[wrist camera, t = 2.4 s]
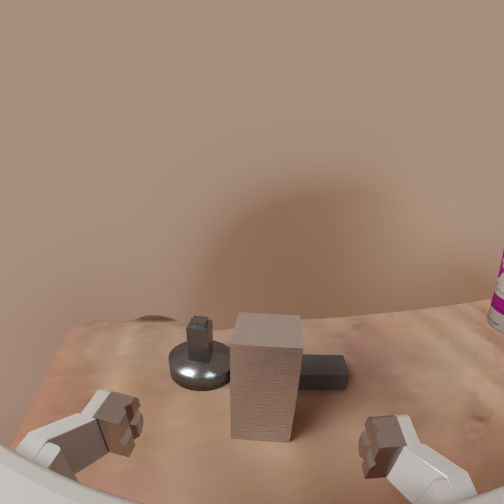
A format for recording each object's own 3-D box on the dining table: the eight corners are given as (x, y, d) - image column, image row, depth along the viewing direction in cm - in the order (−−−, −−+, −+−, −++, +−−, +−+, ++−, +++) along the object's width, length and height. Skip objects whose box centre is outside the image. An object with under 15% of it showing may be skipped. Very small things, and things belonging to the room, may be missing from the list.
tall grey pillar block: (289, 404, 29) (299, 315, 26) (289, 441, 24) (303, 348, 21) (237, 401, 29) (238, 312, 26) (230, 438, 24) (229, 343, 21)
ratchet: (162, 385, 31) (155, 332, 29) (180, 350, 37) (176, 302, 35) (347, 398, 29) (360, 346, 27) (338, 361, 36) (347, 312, 34)
